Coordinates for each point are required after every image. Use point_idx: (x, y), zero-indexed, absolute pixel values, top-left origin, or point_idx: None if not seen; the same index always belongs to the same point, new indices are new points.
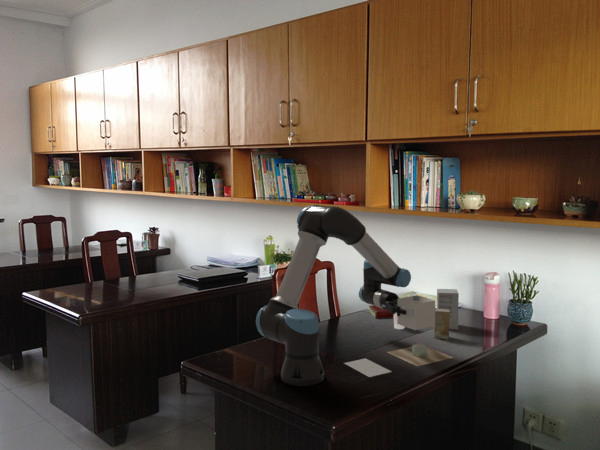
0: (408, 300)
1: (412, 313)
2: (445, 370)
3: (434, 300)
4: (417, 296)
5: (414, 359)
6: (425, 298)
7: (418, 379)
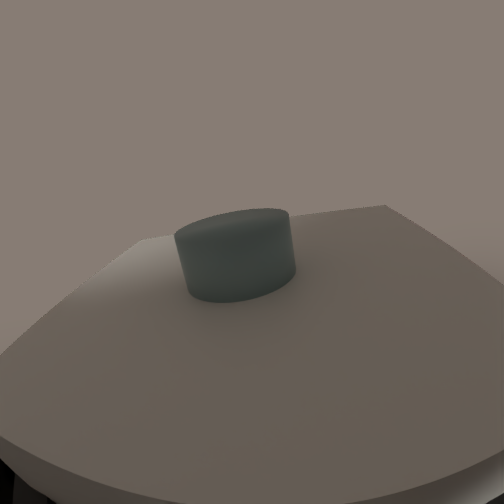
0: (399, 264)
1: None
2: None
3: (144, 239)
4: (212, 223)
5: None
6: (105, 279)
7: None
